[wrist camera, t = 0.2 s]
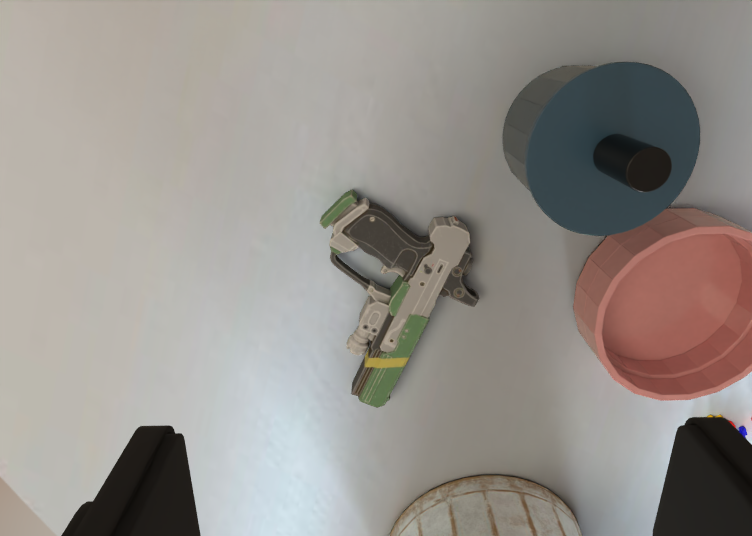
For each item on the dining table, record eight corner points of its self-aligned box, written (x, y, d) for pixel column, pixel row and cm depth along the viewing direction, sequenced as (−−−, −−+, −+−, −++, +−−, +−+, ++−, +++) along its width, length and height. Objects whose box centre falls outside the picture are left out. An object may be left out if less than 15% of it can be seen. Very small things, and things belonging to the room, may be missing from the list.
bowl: (583, 207, 47) (610, 228, 41) (768, 204, 47) (817, 224, 42) (562, 367, 52) (583, 402, 47) (726, 364, 53) (765, 398, 47)
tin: (476, 134, 44) (499, 154, 36) (577, 35, 42) (626, 33, 34) (556, 220, 47) (594, 255, 39) (656, 131, 44) (718, 151, 36)
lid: (487, 152, 37) (509, 172, 31) (624, 20, 34) (676, 16, 28) (590, 261, 40) (627, 297, 34) (724, 149, 37) (788, 168, 31)
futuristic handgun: (260, 366, 49) (414, 423, 51) (339, 173, 43) (512, 247, 45) (266, 350, 52) (413, 405, 54) (342, 166, 45) (505, 236, 47)
